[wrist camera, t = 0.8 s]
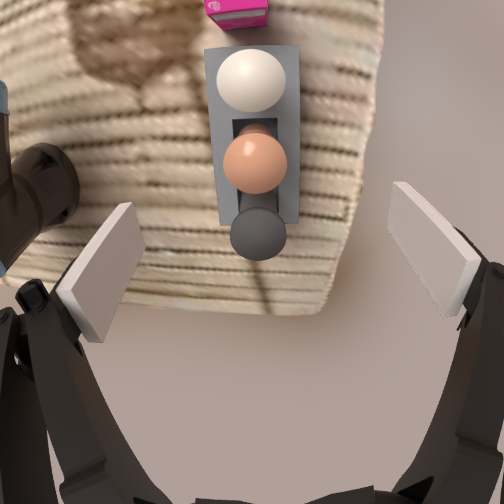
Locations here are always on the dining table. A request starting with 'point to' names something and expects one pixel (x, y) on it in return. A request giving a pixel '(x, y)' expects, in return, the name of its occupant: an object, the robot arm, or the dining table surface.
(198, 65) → the dining table surface
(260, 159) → the terracotta plug
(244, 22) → the supplement box
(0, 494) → the robot arm
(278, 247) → the black plug
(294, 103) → the socket block
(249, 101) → the cream plug
